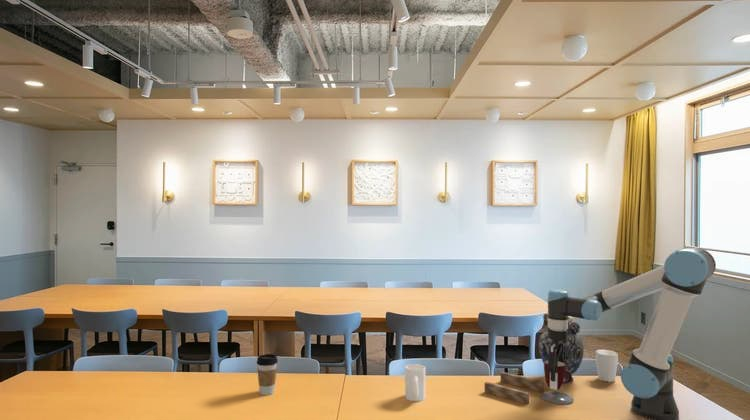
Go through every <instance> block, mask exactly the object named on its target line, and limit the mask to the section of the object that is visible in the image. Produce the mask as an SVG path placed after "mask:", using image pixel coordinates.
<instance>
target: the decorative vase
mask: <svg viewBox="0 0 750 420" xmlns="http://www.w3.org/2000/svg"><path fill="white" fill-rule="evenodd" d="M542 316H543V318H542V319H543V322H544V324H545V329H544V331H543V332H542V333H541V334H540V335H539V339H538V351H539V355H540V356H539V357H540V359H541V360H542V363H543V364H544V361H547V360H549V346H551V343H552V340H551V339H549V338H548V328H549V327H548V321H547V319H548V312H547V313H544V314H543V315H542ZM570 318H571V317H570V316H568V329H567V331H568V339H567V340H566V364H567V367H566V371H569V372H570V373H571V375H572V381H571V382H570V383H573V382H574V381H575V379H574V377H573V374H575V373H576V372H577V371H578V370H579V369H580V366H581V364H582V362H583V358H584V343H583V339H582V338H581V336H580V335H579V334H578V333H580V330H581V327H580V324H579V323H577V322H576V321H573V320H572V319H570ZM569 378H570V377H569V375H568V374H567V373H565V376H564V381H568V380H569ZM570 383H569V384H570Z"/></svg>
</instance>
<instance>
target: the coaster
mask: <svg viewBox="0 0 750 420" xmlns="http://www.w3.org/2000/svg"><path fill="white" fill-rule="evenodd" d="M541 398H542V399H543V400H544V401H546V402H548V403H552V404H554V405H566V406H567V405H571V404H573V403H574V401H575V399H574V397H573V396H572V395H570V394H568V393H566V392H562V391H561V392H560V391H557V390H549V391H548V390H547V391H543V392H541Z"/></svg>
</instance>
